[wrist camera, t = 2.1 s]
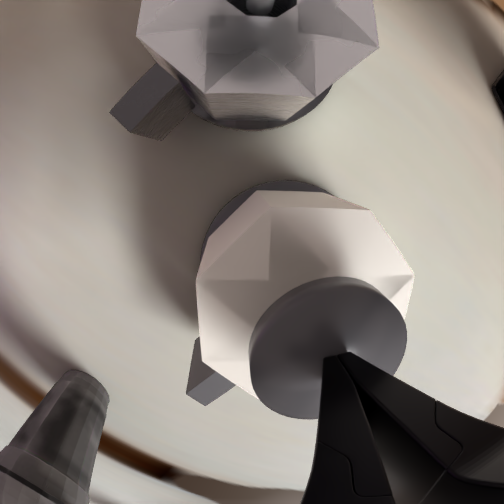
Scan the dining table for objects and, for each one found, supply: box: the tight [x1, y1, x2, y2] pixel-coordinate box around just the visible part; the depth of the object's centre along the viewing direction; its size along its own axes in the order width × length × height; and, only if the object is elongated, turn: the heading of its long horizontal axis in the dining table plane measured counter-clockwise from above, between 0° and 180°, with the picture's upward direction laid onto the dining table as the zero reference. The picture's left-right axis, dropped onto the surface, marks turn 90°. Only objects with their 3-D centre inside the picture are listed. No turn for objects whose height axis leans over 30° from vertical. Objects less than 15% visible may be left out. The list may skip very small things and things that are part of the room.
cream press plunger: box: [248, 276, 407, 419], centre depth 11 cm, size 5×5×6 cm
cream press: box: [186, 180, 415, 406], centre depth 14 cm, size 12×9×6 cm
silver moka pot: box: [109, 0, 379, 141], centre depth 10 cm, size 12×9×6 cm
